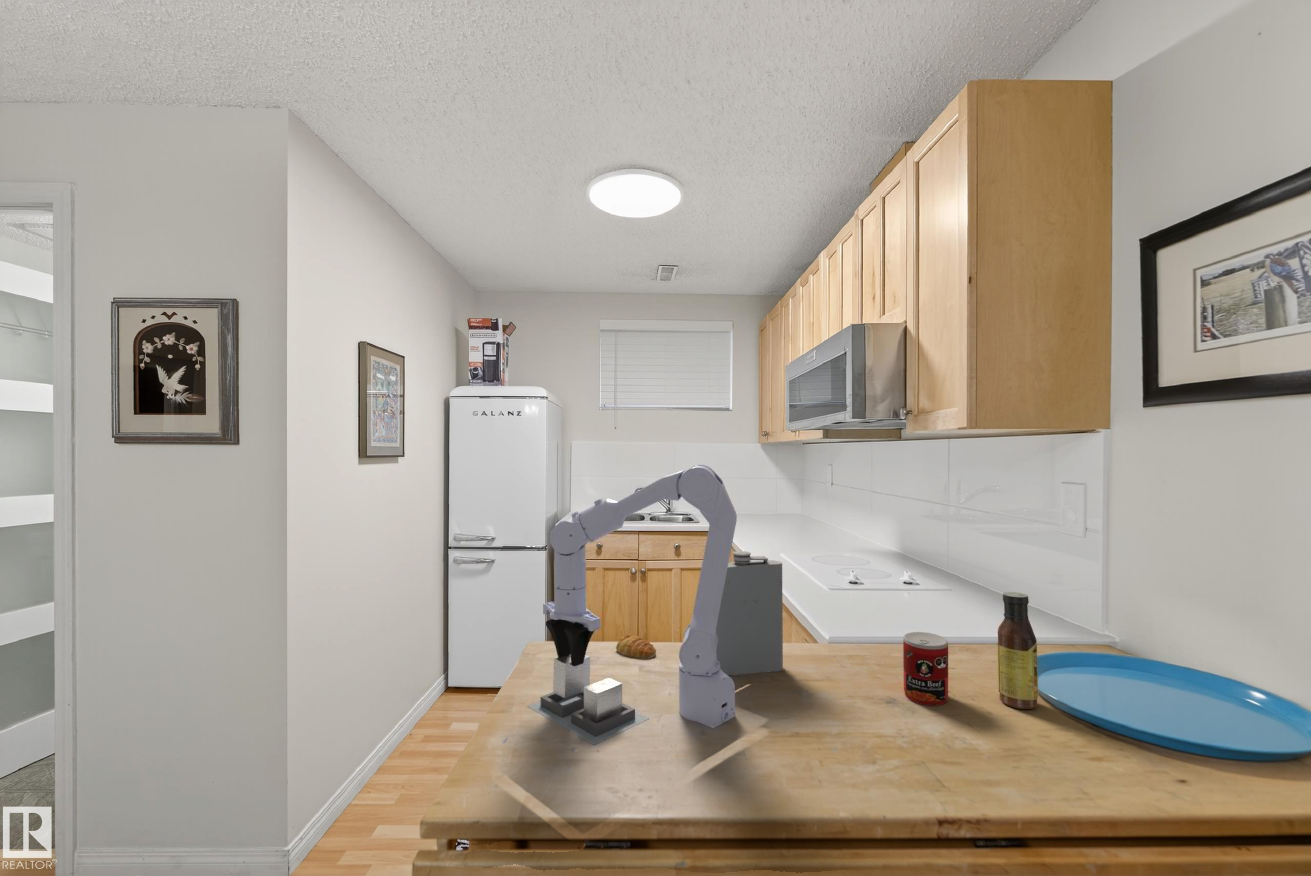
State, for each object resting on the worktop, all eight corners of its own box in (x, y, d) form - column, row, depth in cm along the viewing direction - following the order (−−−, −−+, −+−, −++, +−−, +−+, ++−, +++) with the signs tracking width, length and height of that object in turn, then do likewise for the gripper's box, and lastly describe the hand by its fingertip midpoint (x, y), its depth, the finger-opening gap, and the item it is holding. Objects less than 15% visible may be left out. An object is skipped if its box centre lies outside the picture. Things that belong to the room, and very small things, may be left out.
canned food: (901, 701, 109) (901, 641, 109) (905, 684, 116) (905, 629, 116) (947, 709, 106) (947, 648, 106) (949, 692, 113) (948, 635, 113)
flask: (775, 662, 128) (774, 547, 128) (785, 670, 124) (784, 551, 124) (700, 671, 123) (699, 552, 123) (708, 680, 119) (707, 556, 119)
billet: (622, 718, 101) (622, 683, 101) (597, 729, 97) (597, 693, 97) (608, 711, 103) (608, 677, 103) (584, 722, 99) (583, 687, 99)
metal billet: (589, 689, 107) (590, 656, 107) (564, 698, 103) (565, 663, 103) (577, 684, 110) (578, 651, 110) (553, 692, 106) (553, 658, 106)
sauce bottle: (1044, 712, 104) (1043, 600, 104) (1005, 709, 106) (1005, 598, 105) (1028, 696, 111) (1028, 590, 111) (992, 693, 112) (991, 589, 112)
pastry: (663, 656, 133) (663, 639, 133) (643, 665, 128) (642, 647, 128) (632, 646, 139) (632, 630, 139) (612, 654, 134) (612, 638, 134)
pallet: (649, 725, 101) (649, 708, 101) (594, 752, 92) (594, 734, 92) (580, 691, 114) (580, 677, 114) (527, 712, 106) (527, 696, 106)
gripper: (528, 583, 109) (529, 656, 109) (577, 598, 98) (577, 679, 98) (560, 576, 114) (560, 646, 114) (609, 590, 103) (610, 667, 103)
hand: (570, 661), depth 106 cm, fingers closed on metal billet, 3 cm apart
